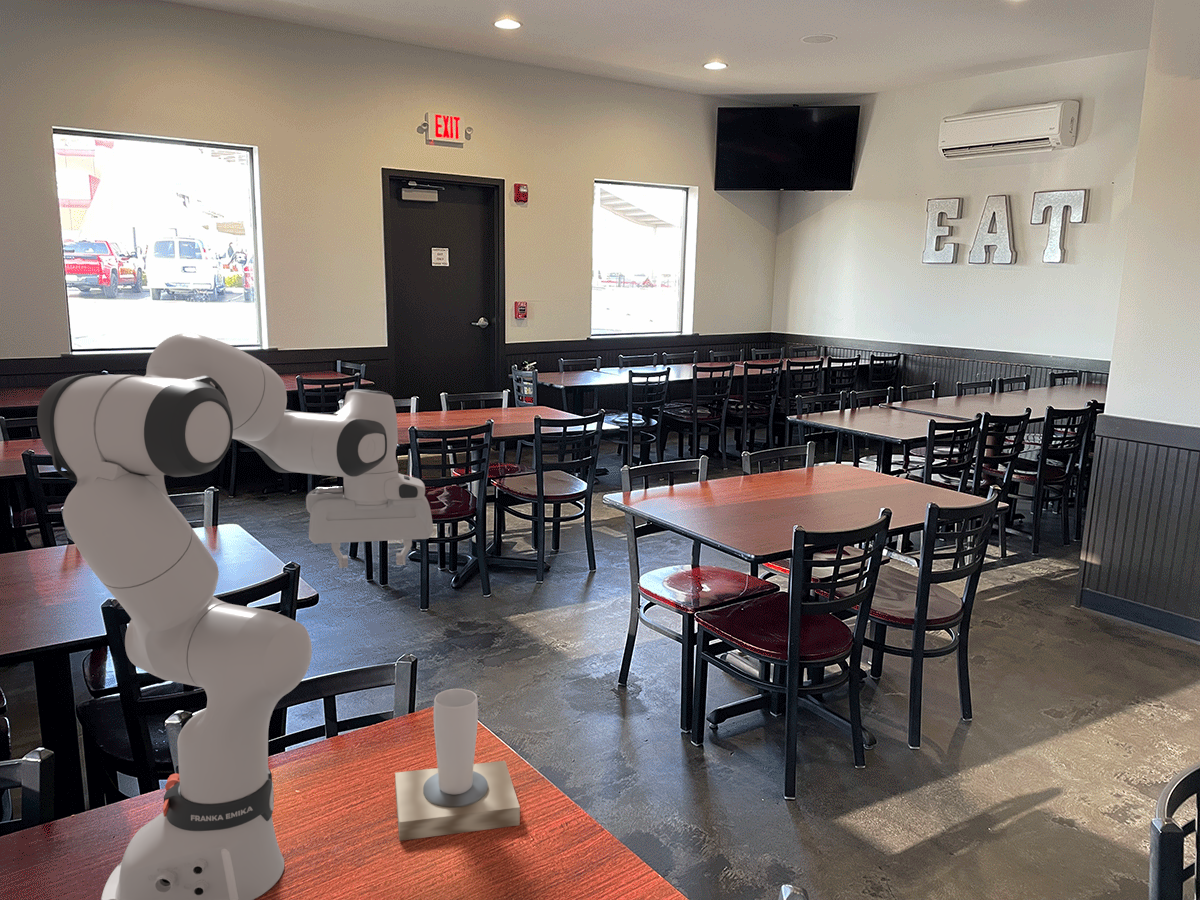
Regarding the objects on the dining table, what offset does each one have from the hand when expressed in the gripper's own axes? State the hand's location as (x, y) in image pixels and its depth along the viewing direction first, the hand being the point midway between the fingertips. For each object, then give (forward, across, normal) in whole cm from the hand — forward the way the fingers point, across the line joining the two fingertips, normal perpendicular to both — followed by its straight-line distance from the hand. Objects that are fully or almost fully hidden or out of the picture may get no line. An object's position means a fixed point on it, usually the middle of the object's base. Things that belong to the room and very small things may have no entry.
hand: (372, 565), depth 149 cm
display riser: (+34, +12, -20) cm, 41 cm away
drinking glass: (+31, +12, -20) cm, 39 cm away
